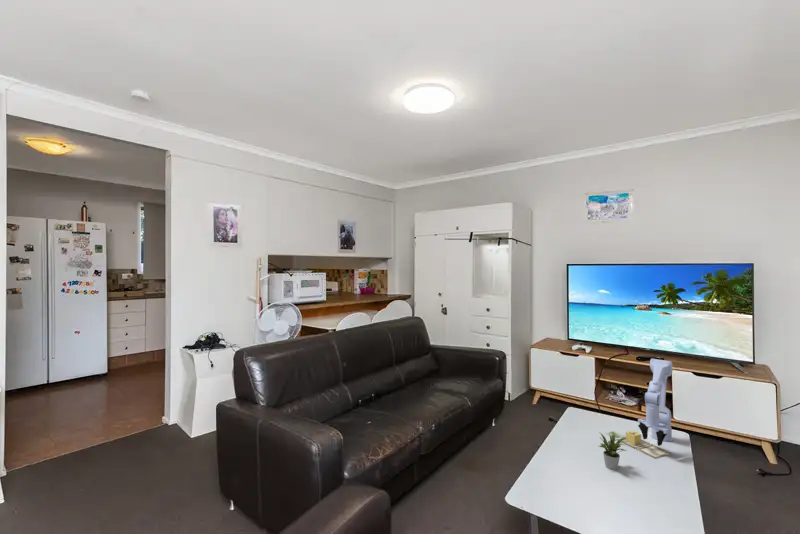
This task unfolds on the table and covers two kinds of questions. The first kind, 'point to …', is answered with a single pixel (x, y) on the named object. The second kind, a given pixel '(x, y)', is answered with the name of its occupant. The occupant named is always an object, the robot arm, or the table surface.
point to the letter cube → (633, 437)
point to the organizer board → (643, 447)
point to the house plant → (611, 451)
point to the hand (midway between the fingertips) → (652, 441)
